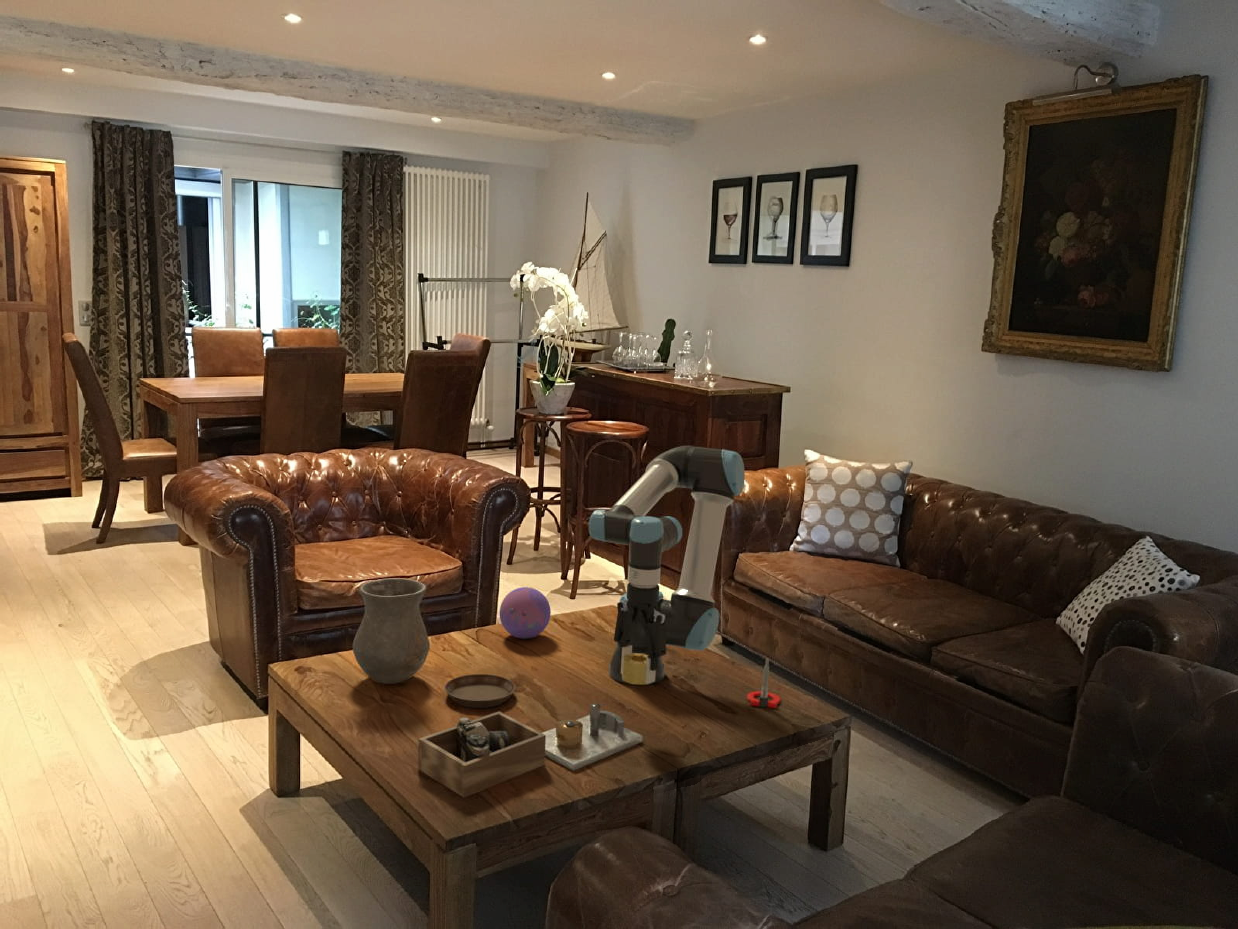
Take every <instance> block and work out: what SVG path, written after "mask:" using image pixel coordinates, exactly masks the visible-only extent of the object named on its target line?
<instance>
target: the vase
mask: <svg viewBox="0 0 1238 929" xmlns="http://www.w3.org/2000/svg"><path fill="white" fill-rule="evenodd" d="M427 588H428V587H427V584H424V583H422V582H420V581H419V580H416V579H409V578H401V577H399V578H398V577H397V578H396V577H393V578H382V579H376V580H371V581H368V582H365V583H363V584H362V585H361V586H360V587H359V593H360V595H361V597H362V598H363V603H364V615H363V617H362V621H361V623H360V625H359V627H358V630H357V632H356V634H355V636H354V639H353V642H352V651H353V655H354V657H355V658H354V659H355V661H356V662H357V664H358V666H359V667H360V669H361V670H362V671H363V672H364V674H366V675H367V676H368V677H369V678H370V679H371V680H373V681H374V682H376V683H380V684H385V685H395V684H401V683H403V682H405V681H406V682H407V681H408V680H409V679H410V678H411V677H413V676H414V675H416V673H417V672H419V671H420V669H421V668H422V667H423V665H424V664H425V662H426V660H427V658H428V655H429V651H430V648H431V644H430V640H429V637H428V633H427V630H426V626H425V624H424V620H423V618H422V614H421V611H420V603H421V602H422V599H423V597H424V595H425V594H426V591H427Z"/></svg>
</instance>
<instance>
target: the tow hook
mask: <svg viewBox="0 0 1238 929" xmlns="http://www.w3.org/2000/svg"><path fill="white" fill-rule="evenodd" d="M769 660H770V659H769V658H768V657H766V658H765V665H764V668H763V678H762V687H761V689H760V690H761V691H757V690H756V691H751V692H749V693H748V694H746V696H747V697H746V698H747V701H749V702H750V706H752V707H759V708H768V709H769V708H770V709H777V706H778V704H780V702H781V698H780V697H779V696H778V695H776V694H775V693H772V692H769V687H768V685H769V684H768V683H769V672H770V666H769V662H770V661H769ZM755 697H759V699H757V698H755ZM769 698H770V699H772V700H769Z"/></svg>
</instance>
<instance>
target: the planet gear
mask: <svg viewBox="0 0 1238 929" xmlns="http://www.w3.org/2000/svg"><path fill="white" fill-rule="evenodd" d="M647 656H648V655H646V654H638V653H631V654H627V655H624V656H623V669H622V680H623V681H625V682H628V683H630V684H629V685H635V684H641V685H642V686H643V685H644V684H646V683H645V674H646V658H647ZM641 685H640V686H641ZM646 685H647V684H646Z"/></svg>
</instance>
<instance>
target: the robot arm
mask: <svg viewBox="0 0 1238 929" xmlns="http://www.w3.org/2000/svg"><path fill="white" fill-rule="evenodd" d="M744 487H745V464H744V461H743V457H742V455H740V454H739V453H738V452H737V451H733V450H728V449H725V448H722V449H721V448H720V449H719V448H712V447H703V446H694V445H681V446H677V447H674V448H671V449H669V450H667V451H665V452H662V453H661V454H659V455H657V456H656V457H654V458H653V459H652V460H651V461H650V462H649V463H648V464H647V466H646V467H645V472H644V474H642V476H641V477H640V478H639V479H638V480H637V481H636V482H635V483H634V484H633V485H632V486H631V487H630V488H629V489H628V490H627V491H626V492H625V493H624V494H623V495H622V496H621V498H620V499H618V501H616V503H614V505H613V506H612V507H610V508H609V510H607V509H596V510H594V511H593V512H592V513H591V515H590V517H589V522H588V533H589V535H590V537H591V538H592V539H593V540H597V541H602V542H604V543H613V544H619V545H626V546H629V550H628V565H627V566H628V567H627V568H628V569H627V571H628V572H627V582H628V583H627V585H626V592H625V593H624V594H622V595H621V597H620V598H619V602H617V604H616V606H617V608H616V609H617V614H616V615H617V616H616V621H615V622H616V623H615V629H614V634H613V636H614V637H613V641H614V642H615V643H616V647H615V649H614V652H613V655H612V658H611V660H610V662H609V666H608V674H609V676H610V678H612V679H613V680H615V681H617V682H620V683H623V684H629V685H631V684H630V683H628V682H625V681H623V680H622V669H623V656H624V655H627V654H631V653H638V654H646V655H648V656H647V658H646V674H645V683H646V684H644V685H652V684H657V683H659V682H661V681H662V680H664V678H665V671H666V670H665V668H666V667H665V664H664V663H663V658H662V657H663V656H666V655H667V646H670V647H671V646H672V647H675V648H682V649H686V650H689V651H690V650H693V651H700V652H701V651H704V650H706V649H707V648H709V646H710V645H711V643H712V642H713V640H714V638H715V636H716V633H717V631H718V627H719V622H720V612H719V610H718V609H717V608H716V607H715V599H713V596H712V595H711V592H712V588H713V582H714V576H715V571H716V565H717V560H718V556H719V549H720V545H721V544H720V543H721V538H722V533H723V528H724V522H725V519H726V518H725V517H726V512H727V508H728V507H729V506H730V505H731V504H733V503H734V500H735V496H740V495H741V494H742V493H743V490H744ZM676 488H685V489H689V490H690V489H691V493H690V495H691V496H692V499H694V507H693V513H692V517H691V522H690V527H689V528H690V529H689V531H688V532H689V533H688V538H687V543H686V548H685V549H686V550H685V551H684V552H685V554H684V559H683V564H682V569H681V573H680V579H679V584H678V588H677V589H676V590H675V591H673V592H672V593H671V597H670V600H668V599H664V594H663V592H662V591H660V585H659V584H660V583H661V569H662V568H661V567H662V566H661V564H662V556H663V555H662V554H663V553H664V552H666V551H668V550H670V549H673V548H675V546H676V545H677V544H678V543H679V542H680V541H681V539H682V538H683V527H682V525H681V523H680V522H679V520H677V519H676V518H675V517H672V516H660V517H655V516H649V515H648V516H647V514H648V512H650V510H652V508H653V507H654V506H655V505H656V504H657V503H658V502H659V501H660V500H661V499H662V497H663V496H664V495H665V494H667V493H670V492H672V491H674V489H676ZM634 685H636V686H638V685H640V686H641V684H634Z"/></svg>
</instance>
